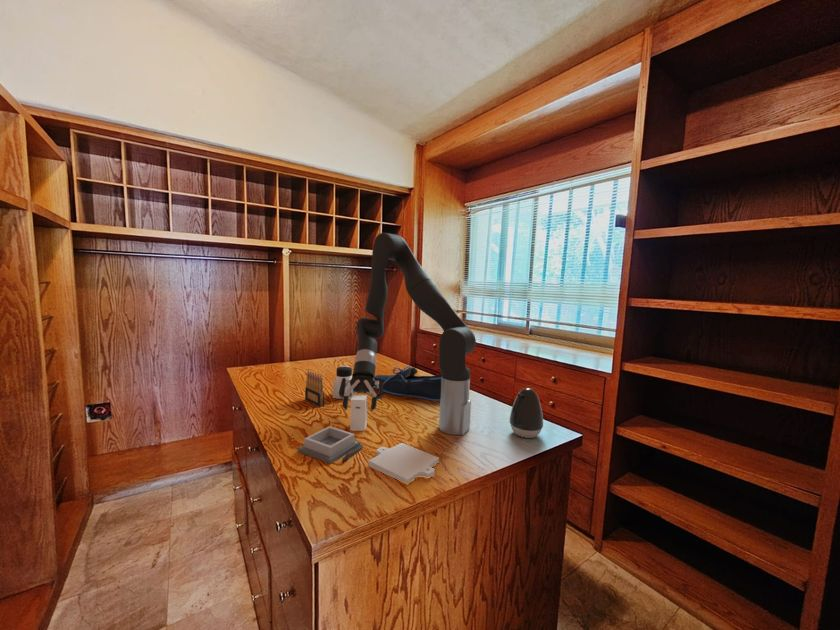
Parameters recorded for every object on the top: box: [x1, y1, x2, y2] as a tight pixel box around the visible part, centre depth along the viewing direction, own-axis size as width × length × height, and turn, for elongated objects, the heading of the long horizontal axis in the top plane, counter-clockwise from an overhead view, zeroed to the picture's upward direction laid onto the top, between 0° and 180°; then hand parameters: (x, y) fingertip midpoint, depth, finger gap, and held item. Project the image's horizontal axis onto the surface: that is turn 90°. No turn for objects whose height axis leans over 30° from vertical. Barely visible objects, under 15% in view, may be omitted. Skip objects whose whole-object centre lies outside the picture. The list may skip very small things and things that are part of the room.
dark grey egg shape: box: [509, 387, 544, 439], centre depth 109 cm, size 10×10×15 cm
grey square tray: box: [297, 425, 362, 465], centre depth 96 cm, size 12×12×4 cm
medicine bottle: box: [332, 365, 354, 400], centre depth 139 cm, size 7×7×12 cm
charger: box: [349, 394, 368, 432], centre depth 110 cm, size 4×5×10 cm
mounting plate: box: [368, 442, 440, 484], centre depth 89 cm, size 18×13×2 cm
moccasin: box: [373, 365, 441, 402], centre depth 146 cm, size 14×34×12 cm, turn 74°
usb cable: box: [342, 444, 364, 462], centre depth 93 cm, size 9×1×1 cm, turn 156°
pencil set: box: [304, 369, 325, 408], centre depth 130 cm, size 11×2×12 cm, turn 48°
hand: (358, 409), depth 110 cm, fingers open, 8 cm apart
